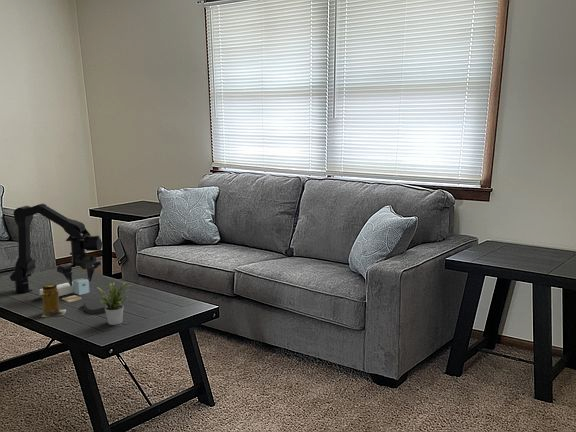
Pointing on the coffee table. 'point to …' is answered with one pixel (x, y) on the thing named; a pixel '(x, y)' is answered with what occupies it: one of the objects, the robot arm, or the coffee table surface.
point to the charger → (81, 286)
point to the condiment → (51, 301)
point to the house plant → (114, 304)
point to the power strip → (61, 289)
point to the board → (71, 298)
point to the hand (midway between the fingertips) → (80, 283)
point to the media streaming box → (96, 305)
